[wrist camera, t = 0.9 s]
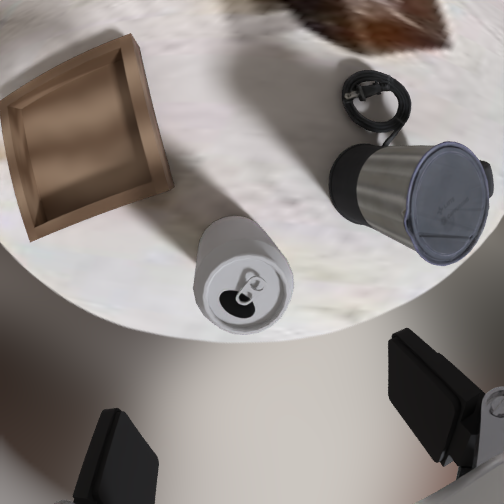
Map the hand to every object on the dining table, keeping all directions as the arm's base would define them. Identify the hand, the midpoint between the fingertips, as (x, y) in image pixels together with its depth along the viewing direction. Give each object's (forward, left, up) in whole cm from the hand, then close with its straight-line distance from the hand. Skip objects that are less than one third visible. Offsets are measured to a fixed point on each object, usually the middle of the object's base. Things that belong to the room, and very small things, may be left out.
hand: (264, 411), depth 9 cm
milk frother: (-6, +17, -24) cm, 30 cm away
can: (+2, 0, -24) cm, 24 cm away
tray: (-14, -12, -24) cm, 30 cm away
